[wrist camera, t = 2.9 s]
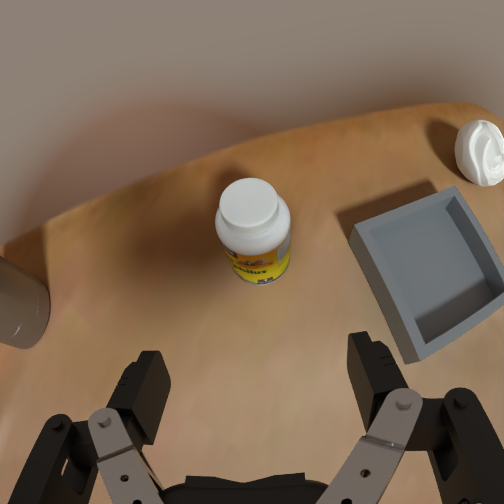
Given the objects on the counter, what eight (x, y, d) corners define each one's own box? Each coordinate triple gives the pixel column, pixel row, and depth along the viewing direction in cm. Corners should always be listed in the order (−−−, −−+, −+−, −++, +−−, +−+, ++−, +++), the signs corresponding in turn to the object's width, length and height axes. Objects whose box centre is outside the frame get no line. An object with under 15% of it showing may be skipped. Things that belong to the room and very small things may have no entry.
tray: (405, 364, 24) (420, 361, 21) (347, 242, 30) (354, 224, 27) (498, 304, 25) (516, 294, 22) (443, 203, 30) (455, 185, 27)
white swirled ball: (464, 202, 30) (493, 161, 23) (434, 153, 33) (453, 109, 26) (502, 190, 30) (530, 154, 23) (474, 146, 33) (494, 107, 26)
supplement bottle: (220, 270, 30) (190, 216, 21) (250, 224, 32) (235, 157, 22) (272, 298, 28) (263, 252, 19) (300, 248, 30) (304, 185, 21)
